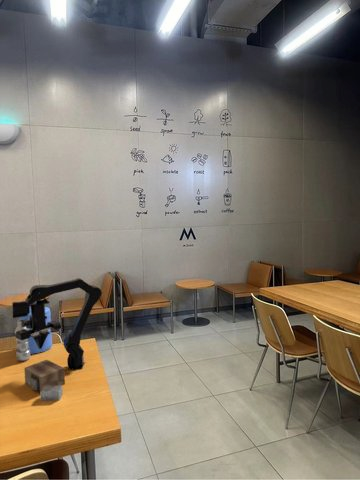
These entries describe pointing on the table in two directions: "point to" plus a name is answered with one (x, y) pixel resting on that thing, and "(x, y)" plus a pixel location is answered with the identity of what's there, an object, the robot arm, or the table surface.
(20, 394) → the table surface
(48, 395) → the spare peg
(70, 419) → the table surface
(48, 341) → the water jug
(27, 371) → the socket block
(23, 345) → the plastic bottle
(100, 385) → the table surface
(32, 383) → the peg
